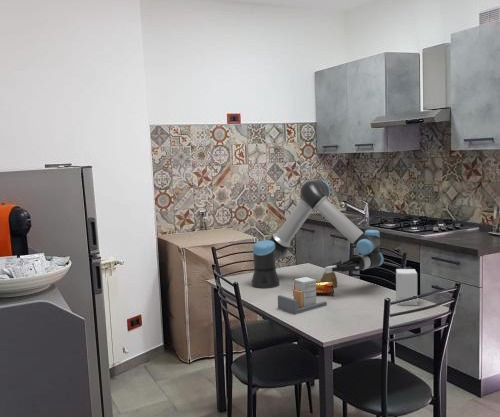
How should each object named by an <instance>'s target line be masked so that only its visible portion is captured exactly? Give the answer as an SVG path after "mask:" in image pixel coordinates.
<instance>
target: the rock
mask: <svg viewBox="0 0 500 417" xmlns="http://www.w3.org/2000/svg"><path fill="white" fill-rule="evenodd" d="M327 267H329V265H328V266H327ZM320 282H333V287H332V288H337V287H338V280H337V276H336V273H335V272H331V273H325V271H324V272H323V275H322V276H321V278H320V280H319V283H320Z"/></svg>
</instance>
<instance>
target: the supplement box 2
mask: <svg viewBox="0 0 500 417" xmlns="http://www.w3.org/2000/svg"><path fill="white" fill-rule="evenodd" d="M413 296H417V297H418V272H417V271H416V269H415V268H396V269H395V299H396V300H401V299H405V298H408V297H413ZM397 305H399V306H418V298H417V299H414V300H411V301H407V302H403V303H399V304H397Z"/></svg>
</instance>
